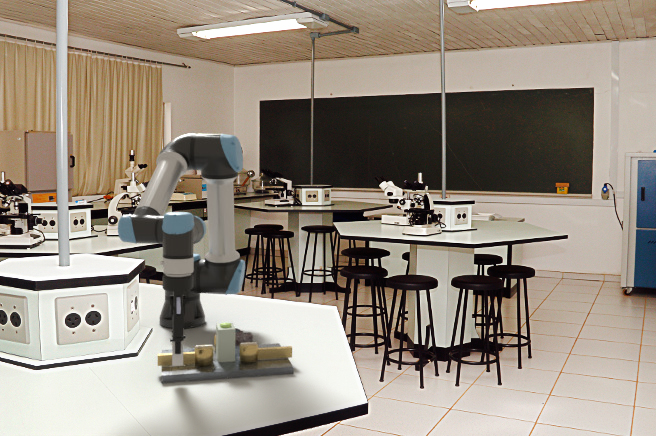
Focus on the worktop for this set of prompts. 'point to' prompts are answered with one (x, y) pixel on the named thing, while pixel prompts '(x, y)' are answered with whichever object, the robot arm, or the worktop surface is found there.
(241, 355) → the knob
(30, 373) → the worktop surface
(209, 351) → the knob
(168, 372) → the grey knob board
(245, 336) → the rock
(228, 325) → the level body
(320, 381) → the worktop surface
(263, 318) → the worktop surface
